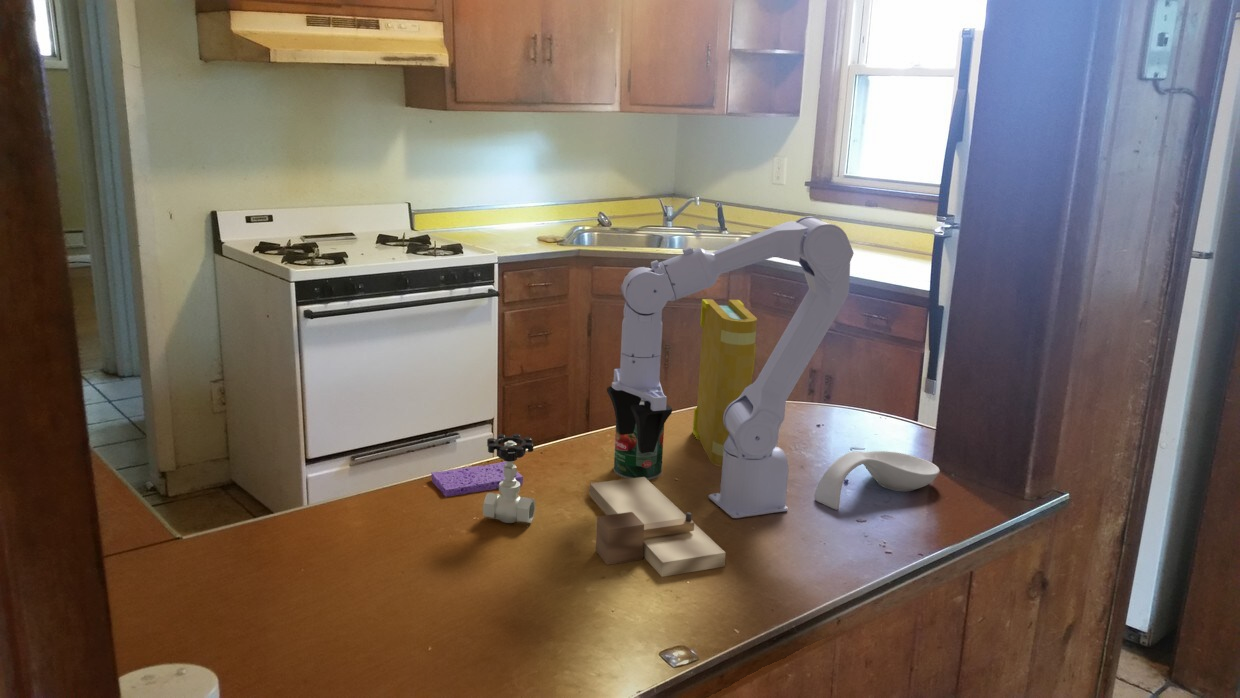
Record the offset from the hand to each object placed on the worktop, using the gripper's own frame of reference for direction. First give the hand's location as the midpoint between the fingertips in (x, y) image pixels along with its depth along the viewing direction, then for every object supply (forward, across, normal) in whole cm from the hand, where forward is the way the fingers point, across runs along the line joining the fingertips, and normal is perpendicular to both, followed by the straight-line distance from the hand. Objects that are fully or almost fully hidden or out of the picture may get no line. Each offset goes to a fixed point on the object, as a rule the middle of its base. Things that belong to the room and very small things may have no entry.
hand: (636, 442), depth 134 cm
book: (+10, -17, +24) cm, 31 cm away
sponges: (+11, -15, -20) cm, 27 cm away
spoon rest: (+10, +6, +40) cm, 41 cm away
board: (+10, +8, 0) cm, 13 cm away
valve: (+10, 0, -19) cm, 22 cm away
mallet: (+10, +14, -4) cm, 18 cm away
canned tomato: (+10, -12, +6) cm, 17 cm away
